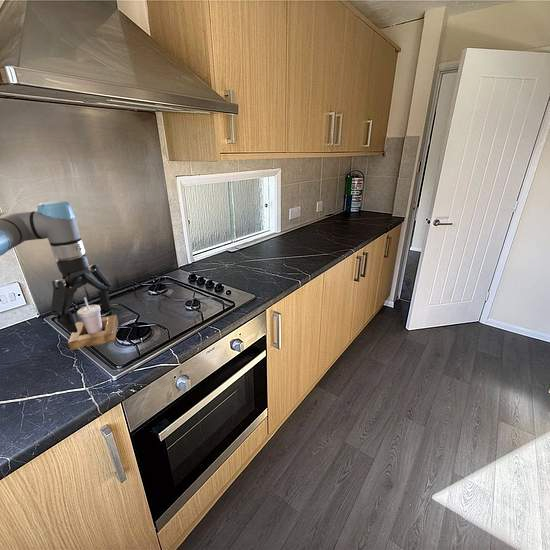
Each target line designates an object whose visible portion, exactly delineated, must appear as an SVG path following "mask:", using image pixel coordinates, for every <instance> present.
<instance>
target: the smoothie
mask: <svg viewBox="0 0 550 550" xmlns="http://www.w3.org/2000/svg"><path fill="white" fill-rule="evenodd" d="M83 300H84V303H85V306H83V307H80V308H79V309H78V310H77V311H76V315H77V317H79V318H80V322H83V324H84V326H85V328H86V330H87V332H86V333H87V334H91V333H96V332H101V331H104V330H103V328H102V321H101V318H102V315H101V311H102V307H101V305H99V304H89V302H88V299H87V297H86V296H84V297H83Z"/></svg>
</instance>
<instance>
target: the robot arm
mask: <svg viewBox="0 0 550 550" xmlns="http://www.w3.org/2000/svg"><path fill="white" fill-rule="evenodd" d="M36 208H37V210H33V211H20V212H19V211H18V212H0V257H1V256H4V255H5V254H6V253H7V252H9V251H10V250H12V249H14V248H15V247H18V246H19V245H21V244H23V243H24V242H26V241H36V240H45V239H47V240H48V243H49V246H50V249H51V252H52V254H53V258H54V259H56V260H55V263H56V266H57V269H58V271H59V272H60V274H61V278H60V279H53V280H52V282H51V283H52V287H53V291H52V299H51V308H50V315H51V316H56V317H59V318H60V321H61V323H62V325H65V327H66V330H67V332H68V333H72V332H73V333H76V332H78V330H77V328H76V322H75V320H74V317H73V313H72V312H71V311H70V307H71V305H72V301H73V299H74V296H75V293H76V292H77V291H78V289H80V288H81V287H83V286H85V285H87V284H88V285H90V286H92V287H94V288H95V289H97V290H99V291H98V292H97V294H98V297H99V302H100V304H101V305H100V306H101V309H102V310H107V311H111V310H112V305H111V303H110V300H109V299H110V295H109V291H111V287H112V283H111V282H110V281H109V279H108V278H107V277H106V276H105V275H104V274H103V273H102V271H101V270H100V268H99V266H98V264H95V263H94V264H93V263H89V259H88V256H87V255H86V254H85V253H86V249H85V247H84V243H83V239H82V237H81V233H80V230H79V226H78V222H77V218H76V215H75V213H74V211H73V208H72V205H71V204H70V202H68V201H66V200H53V201H45V202H40V203H38V204H37V207H36ZM91 275H92V276H93V277H92V276H91Z"/></svg>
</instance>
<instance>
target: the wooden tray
mask: <svg viewBox="0 0 550 550" xmlns="http://www.w3.org/2000/svg"><path fill="white" fill-rule="evenodd" d="M101 321H102V328H103V329H104V330H103V331H101V332H96V333H91V334H88V332H87V330H86V328H85V326H84V324H83V322H82V321H77V322H75V325H76V328H77V330H78V332H76V333H73V332H71V334H70V336H69V339H68V341H67V344H68V347H69V349H70V351H75V350H79V349H78V348H80V347H83V346H87V347H86V348H88V347H93V346H98V345H103V344H106V343H111V342H114V341H116V336H117V332H118V328H119V327H118V326H119V320H118V315H117V314H113V315H108V316H107V315H106V316H101ZM116 331H117V332H116ZM80 349H81V348H80Z"/></svg>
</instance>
